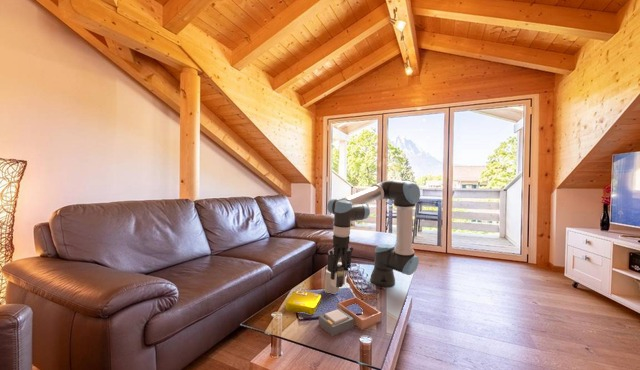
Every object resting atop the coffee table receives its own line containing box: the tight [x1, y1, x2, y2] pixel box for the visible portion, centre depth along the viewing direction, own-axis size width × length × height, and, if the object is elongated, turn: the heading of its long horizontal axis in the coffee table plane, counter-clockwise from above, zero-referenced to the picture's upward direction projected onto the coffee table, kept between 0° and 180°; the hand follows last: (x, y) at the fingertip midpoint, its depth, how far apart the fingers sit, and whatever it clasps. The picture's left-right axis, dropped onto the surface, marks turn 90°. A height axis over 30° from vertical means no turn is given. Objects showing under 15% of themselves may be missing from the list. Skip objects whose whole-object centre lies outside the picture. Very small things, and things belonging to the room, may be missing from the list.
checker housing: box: [318, 309, 354, 337], centre depth 126 cm, size 12×10×5 cm
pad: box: [324, 309, 348, 325], centre depth 126 cm, size 7×7×3 cm
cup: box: [324, 268, 340, 293], centre depth 158 cm, size 8×8×12 cm
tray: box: [336, 296, 382, 331], centre depth 134 cm, size 12×17×4 cm
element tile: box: [285, 289, 322, 314], centre depth 142 cm, size 15×15×5 cm
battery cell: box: [336, 263, 344, 288], centre depth 128 cm, size 4×4×10 cm
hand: (338, 284), depth 128 cm, fingers closed on battery cell, 4 cm apart
